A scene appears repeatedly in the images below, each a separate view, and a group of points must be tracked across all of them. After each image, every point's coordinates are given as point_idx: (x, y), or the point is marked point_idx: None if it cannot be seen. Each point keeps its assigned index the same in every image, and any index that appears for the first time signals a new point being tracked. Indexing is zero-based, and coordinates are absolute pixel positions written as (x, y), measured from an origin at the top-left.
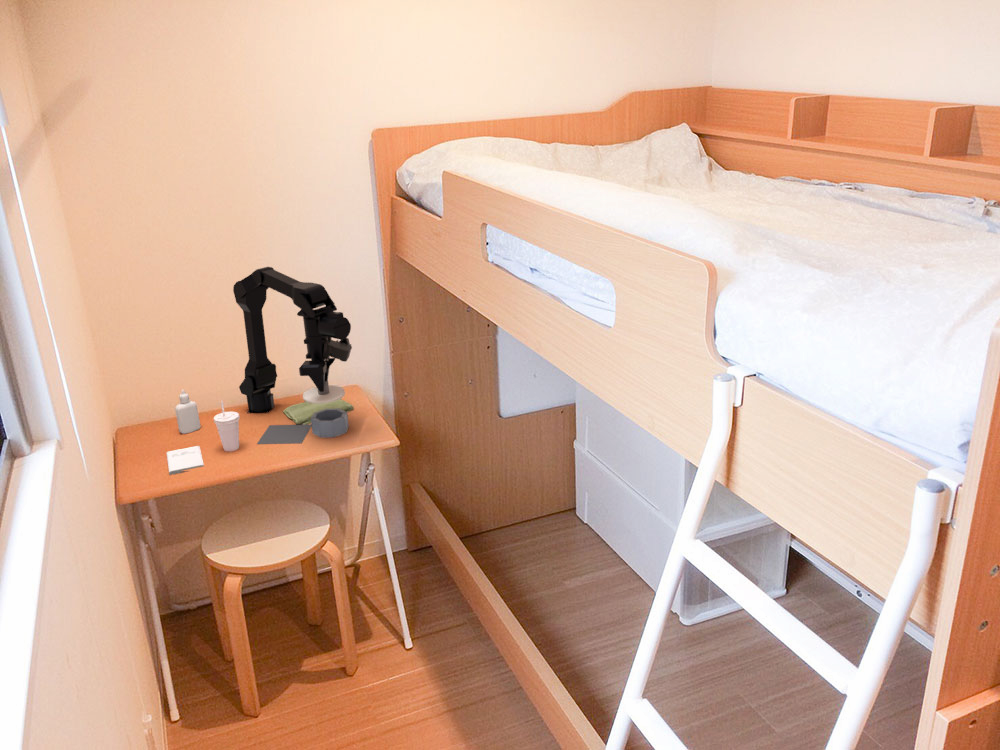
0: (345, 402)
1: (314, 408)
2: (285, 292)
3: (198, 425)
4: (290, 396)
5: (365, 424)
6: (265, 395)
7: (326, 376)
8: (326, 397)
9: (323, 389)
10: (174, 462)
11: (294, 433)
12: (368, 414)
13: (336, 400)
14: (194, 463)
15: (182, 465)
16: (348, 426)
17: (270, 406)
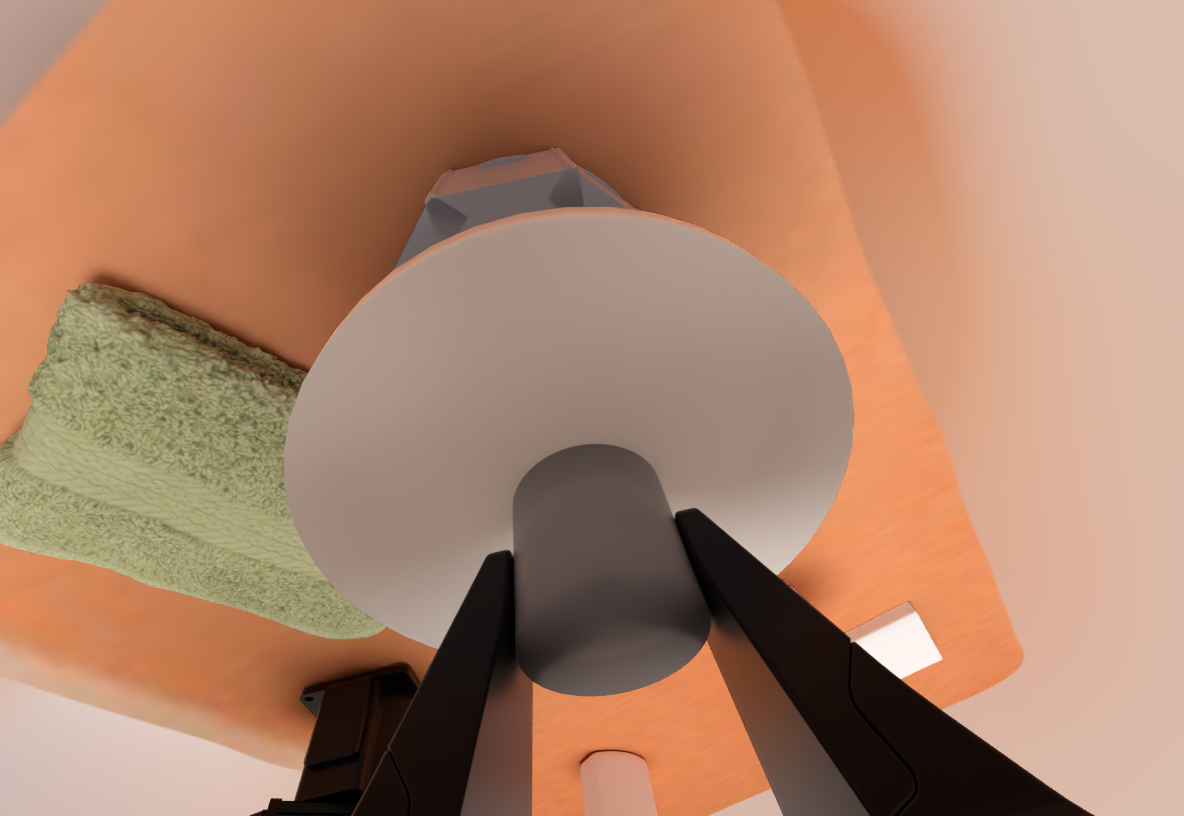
0: (68, 377)
1: None
2: None
3: (604, 766)
4: (151, 692)
5: (306, 37)
6: (367, 772)
7: (489, 713)
8: (749, 407)
9: (717, 525)
10: None
11: None
12: (75, 100)
13: (92, 455)
14: (902, 637)
15: (909, 655)
16: (448, 172)
17: (369, 696)
